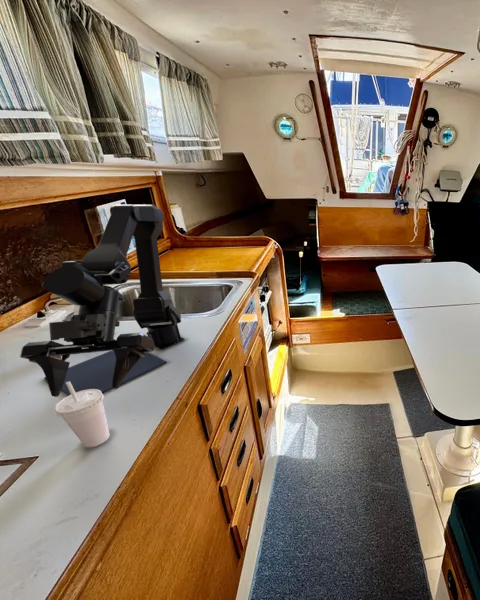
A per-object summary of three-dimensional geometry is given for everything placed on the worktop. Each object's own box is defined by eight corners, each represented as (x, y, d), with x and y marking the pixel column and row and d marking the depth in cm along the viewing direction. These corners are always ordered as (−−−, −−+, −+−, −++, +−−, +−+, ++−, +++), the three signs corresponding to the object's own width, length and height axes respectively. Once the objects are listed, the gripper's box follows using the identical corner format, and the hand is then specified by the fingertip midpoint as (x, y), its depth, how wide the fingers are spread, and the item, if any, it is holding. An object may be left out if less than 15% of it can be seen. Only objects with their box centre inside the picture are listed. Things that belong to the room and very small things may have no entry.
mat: (130, 344, 92) (129, 343, 92) (167, 362, 85) (166, 361, 85) (44, 379, 78) (43, 377, 77) (80, 404, 70) (79, 402, 70)
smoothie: (67, 458, 58) (34, 396, 52) (82, 432, 63) (54, 374, 58) (112, 447, 60) (85, 387, 55) (123, 423, 66) (99, 366, 60)
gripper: (3, 303, 56) (-22, 396, 50) (130, 295, 60) (119, 378, 55) (52, 323, 66) (36, 402, 60) (158, 314, 70) (151, 387, 65)
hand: (85, 392), depth 60 cm, fingers open, 9 cm apart
